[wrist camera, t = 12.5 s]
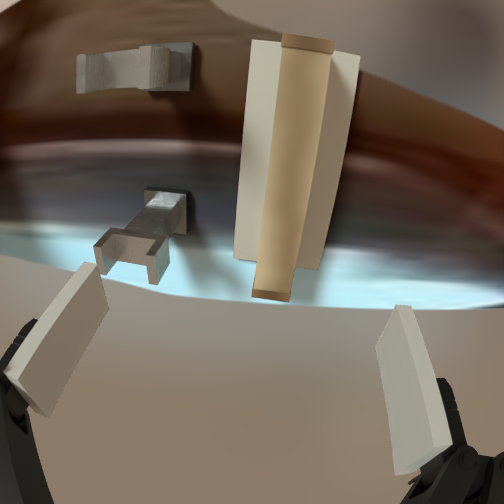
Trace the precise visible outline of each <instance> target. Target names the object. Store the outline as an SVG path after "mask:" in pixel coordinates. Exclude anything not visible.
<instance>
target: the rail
mask: <svg viewBox="0 0 504 504" xmlns="http://www.w3.org/2000/svg"><path fill="white" fill-rule="evenodd" d="M334 44H335V42H334V41H330V40H324V39H318V38H312V37H305V36H298V35H291V34H283V33H282V42H281V47H282V55H281V64H280V72H279V81H278V90H277V98H276V107H275V116H274V124H273V133H272V141H271V150H270V158H269V166H268V175H267V183H266V192H265V200H264V208H263V216H262V224H261V233H260V241H259V249H258V257H257V265H256V273H255V278H254V283H253V289H252V297H255V298H262V299H269V300H276V301H283V302H289V300H290V295H291V285H292V280H293V276H294V271H295V266H296V261H297V257H298V252H299V247H300V242H301V237H302V232H303V227H304V222H305V216H306V211H307V206H308V200H309V195H310V190H311V184H312V178H313V173H314V167H315V161H316V155H317V149H318V143H319V137H320V131H321V125H322V118H323V112H324V105H325V98H326V92H327V85H328V77H329V70H330V62H331V55H332V54H333V52H334Z"/></svg>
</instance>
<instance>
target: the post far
mask: <svg viewBox="0 0 504 504" xmlns="http://www.w3.org/2000/svg"><path fill="white" fill-rule="evenodd" d="M144 201H145V207H144V208H143V209H142V211H141V212H140V213H139V214H138V215H137V216H136V217H135V218H134V219H133V220H132V221H131V222H130V223H129V225H128V226H127V227H126V228H125V229H118V228H110V229H109V230H108V231H107V232H106V233H105V234H104V235H103V236H102V237H101V238H100V239H99V240H98V242H97V243H96V244H95V245H94V246H93V248H94V253H95V258H96V262H97V264H98V267H99V272H100V274H102V275H107V274H108V272H109V271H110V270H111V268H112V267H113V266H114V264H115V263H116V262H117V261H122V262H128V263H134V264H139V265H145V266H147V272H148V280H149V284H153V285H158V283H159V282H160V280H161V278H162V276H163V274H164V273H165V271H166V269H167V267H168V266H169V264H170V256H169V239H170V237H171V236H172V234H173V233H177V234H184V235H187V233H188V231H189V191H185V190H176V189H166V188H155V187H147V188H146V189H144Z"/></svg>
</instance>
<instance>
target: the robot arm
mask: <svg viewBox="0 0 504 504" xmlns="http://www.w3.org/2000/svg"><path fill="white" fill-rule="evenodd" d="M108 310H109V307H108V303H107V300H106V296H105V292H104V288H103V284H102V280H101V276H100V272H99V267H98V264H94V263H88V262H84V263H83V264H82V265H81V266H80V268H79V269H78V270H77V271H76V272H75V274H74V275H73V276H72V278H70V280H69V281H68V282H67V283H66V285H65V286H64V287H63V289H62V290H61V291H60V292H59V294H58V295H57V296H56V298H55V299H54V300H53V301H52V303H51V304H50V305H49V307H48V308H47V309H46V311H45V312H44V314H43V315H42V316H41V317H40V319H39V320H37V319H32V320H31V321H30V322H28V323H27V324H26V325H25V326H24V327H23V328H22V329H21V331H20V332H19V334H18V336H17V337H16V338H15V339H14V341H13V344H11V345H10V347H9V348H8V349H7V351H6V352H5V354H4V356H3V357H2V358H1V360H0V504H54V502H53V499H52V497H51V494H50V491H49V488H48V485H47V482H46V479H45V476H44V473H43V470H42V466H41V463H40V459H39V456H38V453H37V448H36V444H35V440H34V437H33V432H32V427H31V423H30V418H29V414H28V411H27V410H26V409H27V407H28V405H29V406H30V407H31V408H32V409H33V410H34V411H35V412H36V413H38V414H40V415H42V416H44V417H46V418H48V419H49V418H50V416H51V414H52V412H53V410H54V408H55V406H56V404H57V402H58V399H59V398H60V395H61V394H62V392H63V390H64V388H65V386H66V384H67V382H68V380H69V378H70V376H71V374H72V373H73V371H74V369H75V367H76V365H77V364H78V362H79V360H80V358H81V356H82V354H83V353H84V351H85V349H86V347H87V346H88V344H89V342H90V340H91V339H92V337H93V335H94V333H95V332H96V330H97V328H98V327H99V325H100V323H101V322H102V320H103V318H104V316H105V315H106V313H107V312H108ZM375 349H376V354H377V359H378V364H379V368H380V374H381V379H382V385H383V391H384V396H385V402H386V408H387V415H388V421H389V429H390V436H391V444H392V453H393V461H394V470H395V475H402V474H409V473H413V472H414V471H416V470H418V469H419V468H420V470H421V474H420V475H418V476H417V477H415V478H413V479H412V480H411V481H410V482H409V483H408V484H409V485H410V484H412V483H414V484H413V485H412V487H411V488H410V490H409V491H408V493H407V494H406V496H405V497H404V499H403V500H402V502H401V503H400V504H504V452H502V453H500V454H498V455H497V456H496V457H489V456H483V455H478V453H477V451H476V450H475V449H474V448H473V447H471V446H468V445H467V442H466V439H465V435H464V430H463V427H462V422H461V419H460V415H459V411H458V410H457V404H456V402H455V397H454V394H453V391H452V388H451V386H450V385H449V383H448V382H447V381H446V379H445V378H436V377H435V374H434V371H433V368H432V364H431V362H430V358H429V355H428V352H427V349H426V346H425V344H424V340H423V337H422V334H421V332H420V329H419V326H418V324H417V321H416V318H415V315H414V313H413V310H412V307H411V306H405V305H396V306H395V308H394V310H393V312H392V314H391V316H390V318H389V320H388V322H387V324H386V327H385V329H384V330H383V333H382V334H381V336H380V338H379V340H378V342H377V344H376V346H375Z"/></svg>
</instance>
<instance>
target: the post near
mask: <svg viewBox="0 0 504 504" xmlns="http://www.w3.org/2000/svg"><path fill="white" fill-rule="evenodd" d="M195 44H196V43H193V42H191V43H163V44H149V45H144V46H140V49H134V50H124V51H116V52H108V53H92V54H82V55H77V94H81V93H87V92H92V91H97V90H101V89H112V88H127V87H138V89H142V91H192V85H193V70H194V56H195Z"/></svg>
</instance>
